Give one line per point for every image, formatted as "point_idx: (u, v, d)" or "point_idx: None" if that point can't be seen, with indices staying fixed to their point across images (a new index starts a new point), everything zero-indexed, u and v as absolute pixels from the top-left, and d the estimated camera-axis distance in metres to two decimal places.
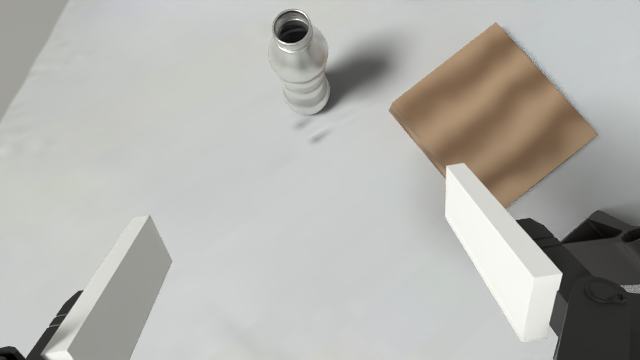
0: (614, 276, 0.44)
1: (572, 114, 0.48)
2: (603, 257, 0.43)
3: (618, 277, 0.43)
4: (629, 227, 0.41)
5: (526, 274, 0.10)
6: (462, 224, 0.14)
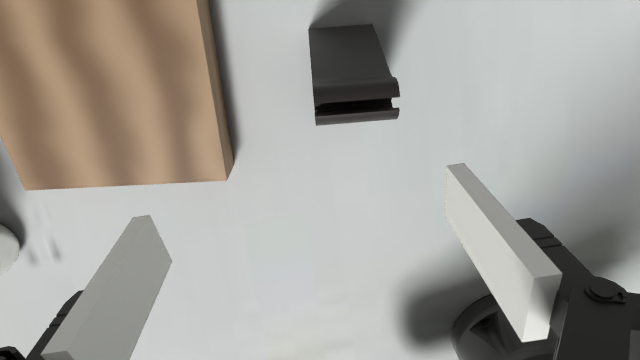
0: None
1: None
2: None
3: None
4: None
5: (526, 274, 0.10)
6: (462, 224, 0.14)
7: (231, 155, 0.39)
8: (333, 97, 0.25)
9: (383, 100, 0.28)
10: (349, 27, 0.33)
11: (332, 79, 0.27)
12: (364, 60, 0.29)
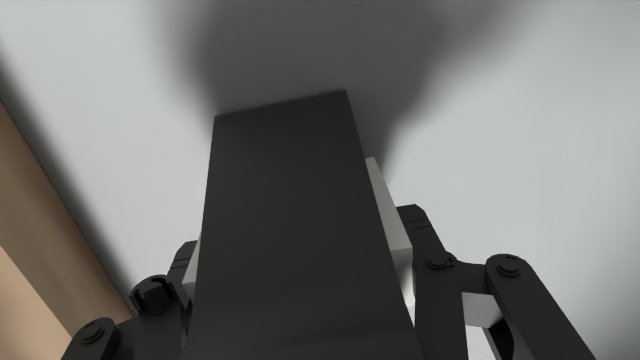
0: None
1: None
2: None
3: None
4: None
5: None
6: None
7: None
8: None
9: None
10: (298, 104, 0.16)
11: (241, 316, 0.10)
12: (329, 221, 0.12)
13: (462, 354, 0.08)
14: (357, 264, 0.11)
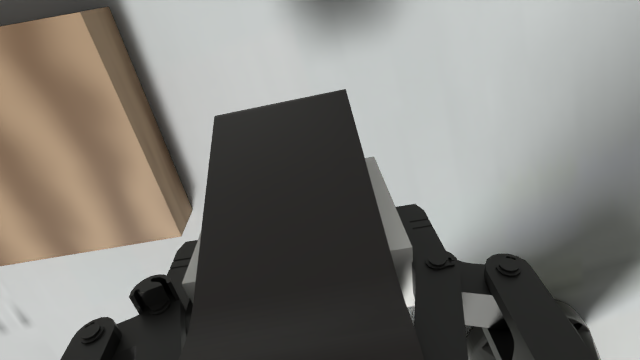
0: None
1: (24, 36, 0.23)
2: None
3: None
4: None
5: None
6: None
7: (186, 202, 0.34)
8: None
9: None
10: (298, 103, 0.16)
11: (241, 315, 0.10)
12: (329, 220, 0.12)
13: (462, 354, 0.08)
14: (357, 263, 0.11)
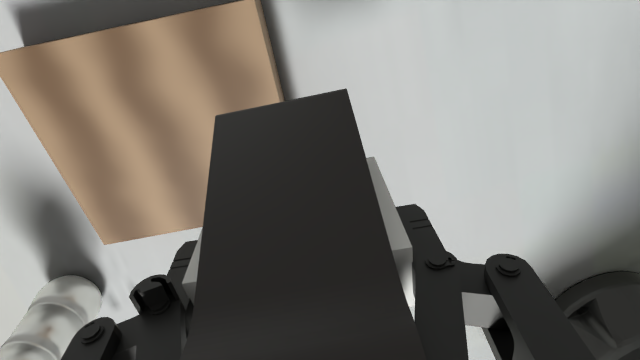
0: None
1: (202, 21, 0.26)
2: None
3: None
4: None
5: None
6: None
7: None
8: None
9: None
10: (299, 103, 0.16)
11: (243, 315, 0.10)
12: (330, 219, 0.12)
13: (462, 354, 0.08)
14: (358, 263, 0.10)
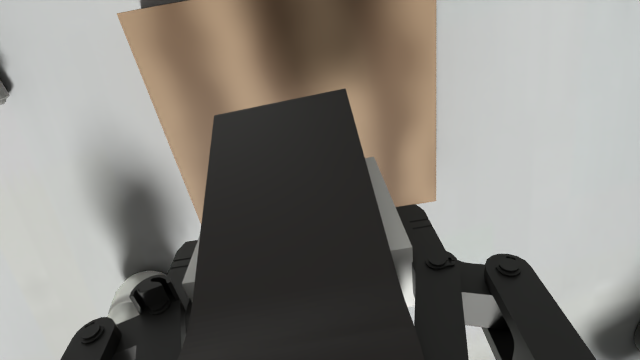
0: None
1: None
2: None
3: None
4: None
5: None
6: None
7: None
8: None
9: None
10: (298, 102, 0.16)
11: (241, 315, 0.10)
12: (329, 219, 0.12)
13: (462, 354, 0.08)
14: (357, 263, 0.10)
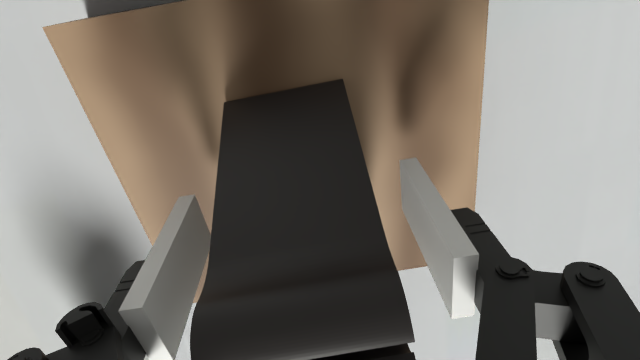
0: None
1: None
2: None
3: None
4: None
5: (449, 255, 0.11)
6: (412, 214, 0.16)
7: None
8: (242, 358, 0.10)
9: None
10: (300, 91, 0.17)
11: (251, 266, 0.12)
12: (327, 189, 0.13)
13: None
14: (351, 224, 0.12)
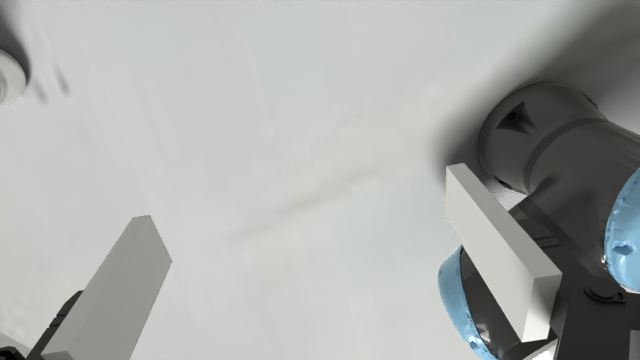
0: None
1: None
2: None
3: None
4: None
5: (526, 274, 0.10)
6: (462, 224, 0.14)
7: None
8: None
9: None
10: None
11: None
12: None
13: None
14: None
